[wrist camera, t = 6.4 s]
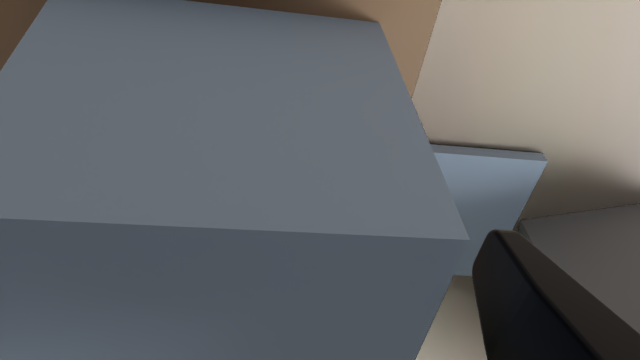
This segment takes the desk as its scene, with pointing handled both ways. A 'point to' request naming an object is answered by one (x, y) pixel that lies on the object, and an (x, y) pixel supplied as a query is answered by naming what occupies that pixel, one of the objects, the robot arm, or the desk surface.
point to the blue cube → (215, 189)
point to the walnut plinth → (348, 3)
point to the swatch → (487, 190)
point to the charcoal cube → (596, 253)
